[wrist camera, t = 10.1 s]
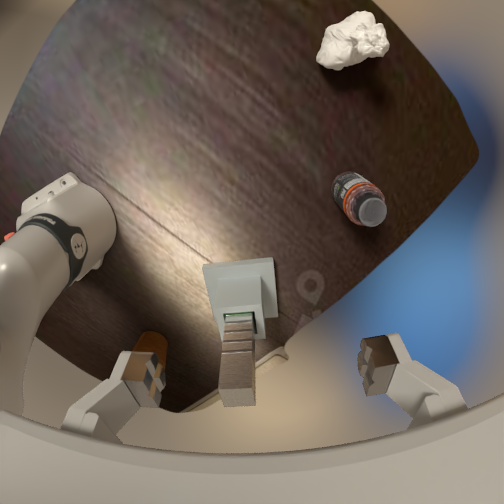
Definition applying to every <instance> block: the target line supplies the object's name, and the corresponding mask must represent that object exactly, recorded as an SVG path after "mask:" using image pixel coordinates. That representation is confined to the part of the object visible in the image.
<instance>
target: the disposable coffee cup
mask: <svg viewBox="0 0 504 504" xmlns="http://www.w3.org/2000/svg"><path fill="white" fill-rule="evenodd" d="M167 348H168V342H167V340H166V338H165V337H164V336H163V335H161V334H160V333H157V332H154V331H146V332H144V333H142V335H141V337H140V338H139V340H138V342H137V343H136V345H135V346H134V348H133V350H132V351H131V352H133V351H134V352H152V353H157V355H158V357H159V361H158V363H159V364H161V365H162V366H163V368H164V371H165V365H166V356H167ZM164 387H165V385H164ZM164 387H163V388H162V389H161V390H163V389H164ZM161 390H160V392H161Z"/></svg>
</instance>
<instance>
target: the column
mask: <svg viewBox="0 0 504 504" xmlns="http://www.w3.org/2000/svg"><path fill="white" fill-rule="evenodd" d="M218 391H219V393H220V396H221V399H222V401H223V405H224V407H234V406H253V405H254V406H255V322H254V316H253V311H250V312H238V313H226V318H225V327H224V337H223V346H222V356H221V366H220V376H219V386H218Z"/></svg>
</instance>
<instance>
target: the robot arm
mask: <svg viewBox="0 0 504 504" xmlns="http://www.w3.org/2000/svg"><path fill="white" fill-rule="evenodd" d="M64 181H65V182H66V184H65V182H64ZM16 228H17V233H14V232H12V233H9V234H8V235H6V236H5V237H4V238H5V242H4V243H3V244H1V245H0V504H504V393H502V394H501V395H498V396H496V397H494V398H492V399H490V400H488V401H485V402H483V403H481V404H479V405H477V406H474V407H472V408H469V409H468V408H467V406H466V404H465V402H464V400H463V398H462V396H461V394H460V392H459V390H458V388H457V386H455V385H454V384H452V383H451V382H449V381H448V380H446V379H444V378H443V377H441V376H439V375H438V374H436V373H435V372H433V371H432V370H430V369H428V368H427V367H425V366H424V365H422V364H421V363H419V362H417V361H416V360H414V361H412V359H411V357H410V355H409V353H408V351H407V349H406V347H405V345H404V343H403V341H402V339H401V337H400V335H399V334H398V333H393V334H387V335H381V336H375V337H370V338H364V339H362V340H361V344H360V347H361V351H360V352H359V354H358V370H359V373H360V375H361V376H362V377H363V378H364V381H363V386H364V390H365V393H366V396H371V395H377V394H383V393H386V394H387V395H388V396H389V397H390V398H391V399H392V400H393V401H394V402H396V403H397V404H398V405H399V406H400V407H401V408H402V409H403V410H404V411H406V412H407V413H408V414H409V415H410V416H411V417H412V418H413V420H412V422H411V424H410V425H409V427H408V428H407V430H405V431H401V432H397V433H393V434H390V435H385V436H381V437H377V438H372V439H368V440H363V441H358V442H353V443H347V444H342V445H336V446H329V447H322V448H314V449H306V450H296V451H284V452H270V453H231V454H230V453H226V454H225V453H198V452H183V451H171V450H162V449H154V448H146V447H139V446H133V445H127V444H123V443H122V442H121V441H120V439H119V438H118V437H117V436H116V433H117V432H118V431H119V430H120V429H121V428H122V427H123V426H124V425H125V424H126V423H127V422H128V421H129V420H130V418H131V417H132V416H133V415H134V414H135V413H136V412H137V411H138V410H139V409H140V407H150V408H159V404H160V400H161V396H162V395H161V393H160V390H161V389H162V388H163V387H164V385H165V371H164V368H163V366H162V365H161V364H159V363H158V361H159V357H158V355H157V353H152V352H134V351H133V352H131V351H122V352H121V353H120V355H119V358H118V360H117V362H116V364H115V367H114V369H113V371H112V374H111V376H110V379H106V380H104V381H103V382H102V383H101V384H99V385H98V386H97V387H95V388H94V389H93V390H92V391H90V392H89V393H88V394H86V395H85V396H84V397H82V398H81V399H80V400H79V401H77V402H76V403H75V404H73V405H72V406H71V407H70V408H69V410H68V412H67V415H66V417H65V419H64V421H63V424H62V426H61V429H58V428H54V427H51V426H48V425H45V424H42V423H39V422H36V421H33V420H30V419H27V418H25V417H22V413H23V408H24V399H23V380H24V373H25V368H26V364H27V360H28V356H29V353H30V349H31V346H32V343H33V340H34V337H35V334H36V331H37V329H38V326H39V324H40V322H41V320H42V318H43V317H44V315H45V313H46V312H47V310H48V309H49V308H50V306H51V305H52V303H53V302H54V301H55V299H56V298H57V297H58V295H59V294H60V293H61V292H62V291H64V290H66V289H67V288H68V287H69V286H71V285H72V283H73V282H74V281H75V280H76V281H79V280H80V279H82V278H83V277H84V276H85V275H86V274H87V273H88V272H89V271H90V270H91V269H98V268H99V267H100V266H101V265H102V262H103V258H104V255H105V253H106V252H107V251H108V250H109V249H110V248H111V246H112V244H113V242H114V240H115V236H116V221H115V216H114V213H113V211H112V209H111V207H110V205H109V203H108V202H107V200H106V199H105V198H104V197H103V195H102V194H100V193H99V192H98V191H97V190H95V189H94V188H92V187H90V186H88V185H86V184H84V183H82V182H81V181H80V180H79V178H78V177H77V176H76V175H75V174H73V173H71V172H69V173H67V174H65V175H64V176H62V177H60V178H59V179H57V180H55V181H54V182H52V183H51V184H49V185H47V186H46V187H44V188H43V189H41V190H40V191H38V192H37V193H35V194H33V195H32V196H30V197H29V198H28V199H26V200H25V201H24V202H23V203H22V215H21V216H20V217H18V219H17V224H16Z"/></svg>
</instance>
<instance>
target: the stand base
mask: <svg viewBox="0 0 504 504" xmlns="http://www.w3.org/2000/svg"><path fill="white" fill-rule="evenodd" d="M202 270H203V274H204V279H205V283H206V287H207V291H208V296H209V300H210V304H211V308H212V312H213V316H214V320H215V322H217V324H218V328H219V332H220V336H221V340H222V342H223V337H224V327H225V318H226V313H238V312H250V311H253V316H254V322H255V340H256V339H266V333H265V318H272V317H278V309H277V297H276V285H275V274H274V263H273V257H270V258H260V259H250V260H240V261H230V262H219V263H209V264H203V267H202Z"/></svg>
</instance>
